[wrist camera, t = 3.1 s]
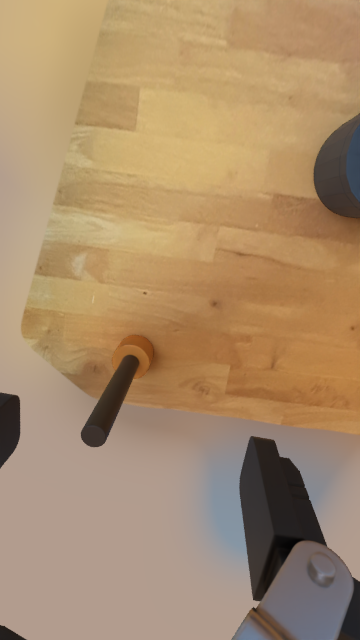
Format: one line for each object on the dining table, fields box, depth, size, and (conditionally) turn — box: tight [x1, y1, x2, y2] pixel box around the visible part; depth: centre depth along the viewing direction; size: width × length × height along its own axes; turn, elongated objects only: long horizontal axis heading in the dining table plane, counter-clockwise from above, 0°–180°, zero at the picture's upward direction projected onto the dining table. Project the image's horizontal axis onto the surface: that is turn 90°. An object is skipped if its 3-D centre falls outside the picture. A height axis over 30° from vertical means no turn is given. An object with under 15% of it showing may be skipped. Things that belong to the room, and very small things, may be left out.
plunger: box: [81, 335, 154, 447], centre depth 36 cm, size 5×5×18 cm
